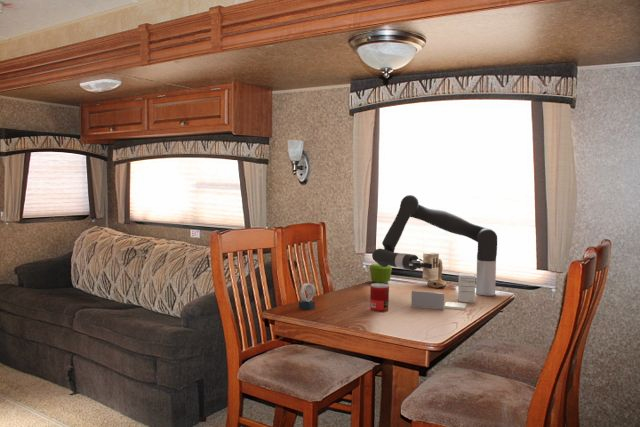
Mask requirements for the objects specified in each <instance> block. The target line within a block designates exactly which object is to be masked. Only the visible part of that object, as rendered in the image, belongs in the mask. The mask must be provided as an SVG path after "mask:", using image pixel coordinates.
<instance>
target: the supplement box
mask: <svg viewBox="0 0 640 427" xmlns="http://www.w3.org/2000/svg"><path fill="white" fill-rule="evenodd" d="M457 286H458V288H457V291H458V292H457V299H458V303H475V302H476V299H475V298H476V276H475V274H474V273H470V272H469V273H467V272H466V273H465V272H464V273H463V272H458V285H457Z"/></svg>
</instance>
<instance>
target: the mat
mask: <svg viewBox="0 0 640 427" xmlns="http://www.w3.org/2000/svg"><path fill="white" fill-rule="evenodd" d="M466 308H467V302H453V301H445V302H444V309H448V310H449V309H452V310H462V311H465V310H466Z"/></svg>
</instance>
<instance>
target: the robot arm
mask: <svg viewBox="0 0 640 427" xmlns="http://www.w3.org/2000/svg"><path fill="white" fill-rule="evenodd" d="M418 199H419V198H417V197H416V196H415V195H413V194H408V195H405V196H404V197H403V198H402V199H401V201H400V205H399V209H398V211H397V214H396V216H395V218H394V220H393V222H392V224H391V226H390V227H389V229H388V231H387V233H386V234H385V236H384V238H383V240H382V243H381V244H382V246H383V248H377V249H375V250H373V252H372V254H371V257H372V260H373V262H375V263H376V264H379V265H380V266H382V267H387V266H388V265H390V266H391V267H392V268H400V269H401V270H408V271H416V270H418V269H423V268H429V269H432V264H429V263H424V262H423V258H419V257H418V255H416V254H412V253H405V252H404V253H403V252H402V253H400V252H395V249H396V247H397V244H398V243H399V241H400V239H401V237H402V234H403V232H404V229H405V228H406V225H407V223H408V221H409V219H410V218H414V219H416V220H420V221H422V222H425V223H427V224H429V225H432V226H434V227H436V228H439V229H441V230H443V231H445V232H449V233H452V234H455V235H458V236H464V237H466V238H469V239H471V240H473V241H475V242H476V243H477V252H476V253H477V254H476V277H475V295H479V296H495V295H496V276H497V275H496V274H497V273H496V272H497V255H498V236H497V233H496V232H495V231H494V230H493V229H491V228H488V227H483V226H480V225H477V224H474V223H471V222H469V221H468V220H466V219H464V218H462V217H461V216H458V215H456V214H453V213H451V212H448V211H446V210H442V209H435V208H434V209H433V208H429V207H425V206H423V205H421V204H419V200H418ZM439 267H440V263H438V268H439Z"/></svg>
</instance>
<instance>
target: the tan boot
mask: <svg viewBox="0 0 640 427" xmlns="http://www.w3.org/2000/svg"><path fill="white" fill-rule="evenodd" d="M439 263H440V267H439V268H438V280H433V281H430V280H427V283H426V285H427V286H429V287H431V288H434V289H437V288H441V287H445V286H446V284H447V281H446V280H443V279H442V277H443V276H442V274H443V269H444V267H443V260H442V259H441V258H439Z"/></svg>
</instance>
